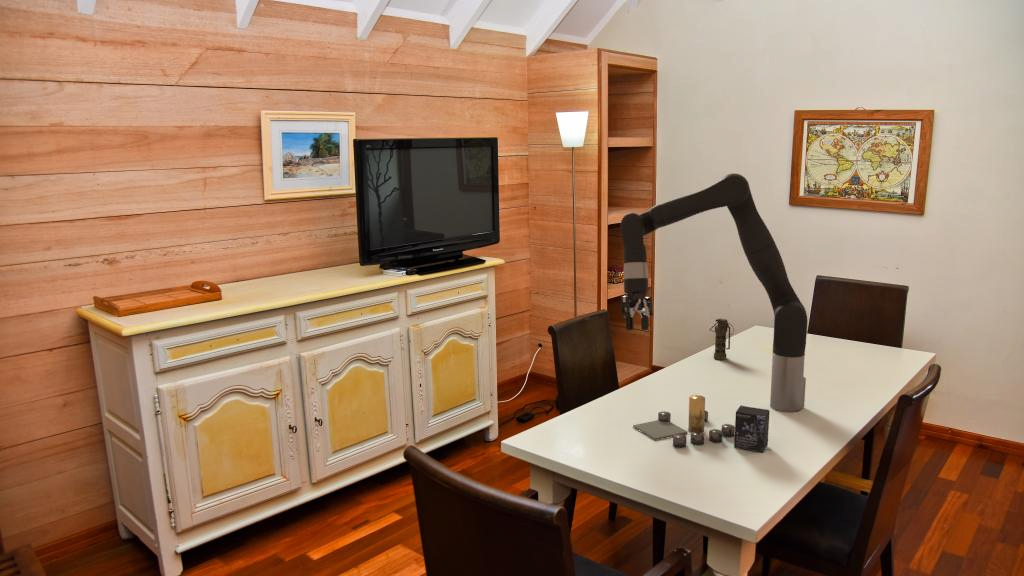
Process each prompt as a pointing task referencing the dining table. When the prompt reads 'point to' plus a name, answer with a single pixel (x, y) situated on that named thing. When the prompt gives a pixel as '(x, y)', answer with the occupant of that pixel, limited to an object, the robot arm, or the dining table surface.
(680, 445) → the spacers
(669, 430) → the pad
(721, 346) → the grenade
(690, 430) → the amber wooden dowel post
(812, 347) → the dining table surface
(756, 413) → the box
